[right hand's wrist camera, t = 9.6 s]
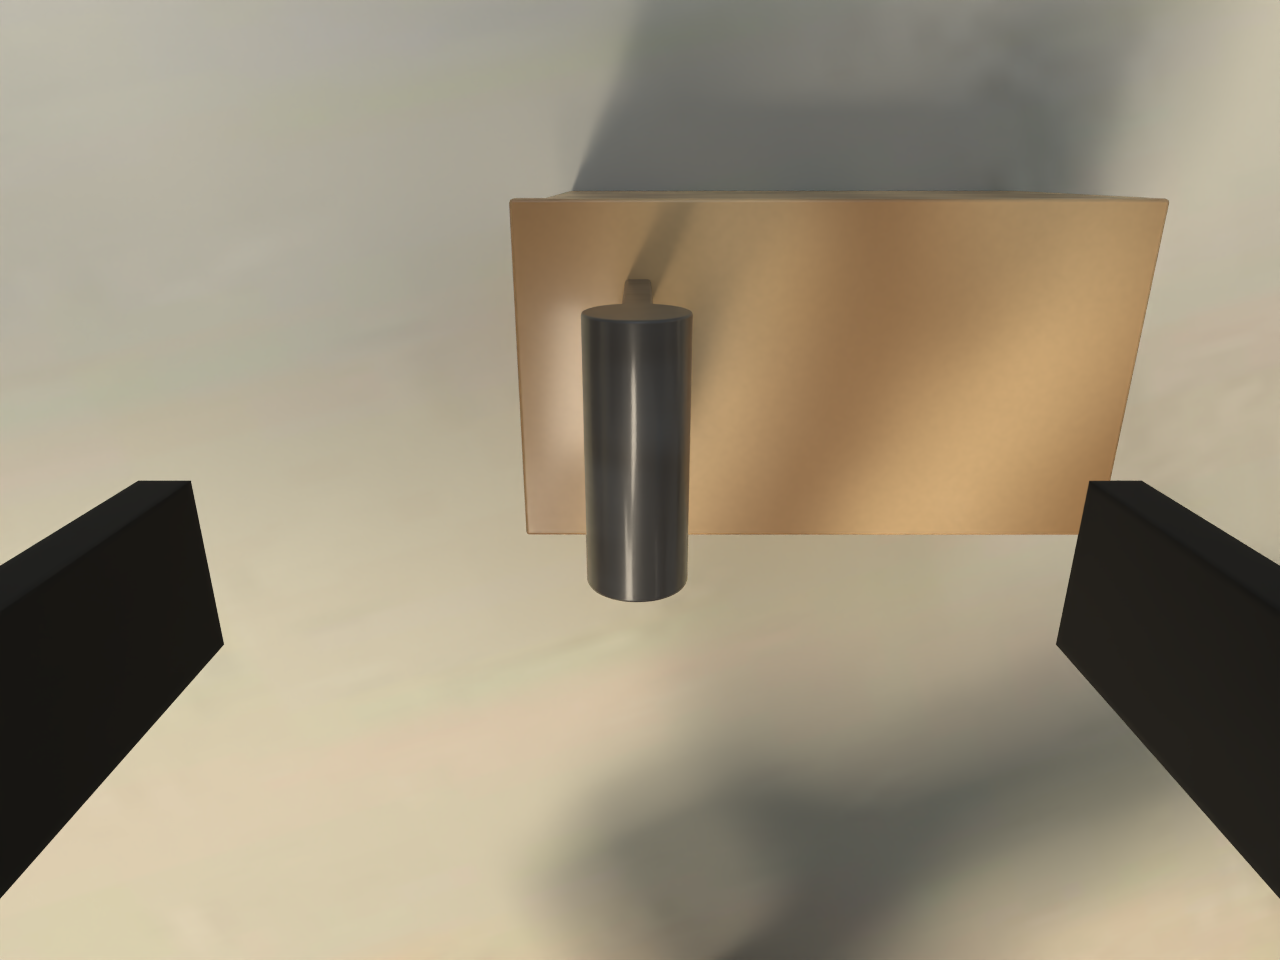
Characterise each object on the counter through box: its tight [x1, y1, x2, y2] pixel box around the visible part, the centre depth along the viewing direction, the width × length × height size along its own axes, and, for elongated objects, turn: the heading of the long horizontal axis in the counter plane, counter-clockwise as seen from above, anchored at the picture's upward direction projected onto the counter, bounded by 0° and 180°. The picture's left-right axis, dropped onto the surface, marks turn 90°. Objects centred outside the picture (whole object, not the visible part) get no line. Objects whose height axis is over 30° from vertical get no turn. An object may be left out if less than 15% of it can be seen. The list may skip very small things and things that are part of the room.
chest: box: [548, 191, 1142, 198], centre depth 28 cm, size 16×10×9 cm, turn 90°
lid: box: [509, 198, 1169, 602], centre depth 20 cm, size 17×10×8 cm, turn 90°
